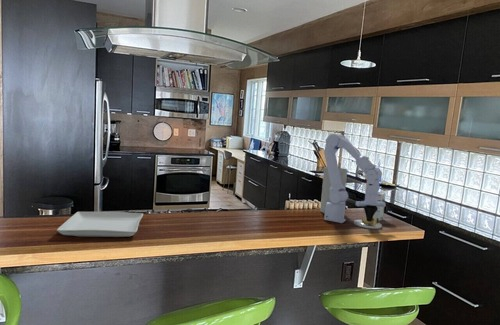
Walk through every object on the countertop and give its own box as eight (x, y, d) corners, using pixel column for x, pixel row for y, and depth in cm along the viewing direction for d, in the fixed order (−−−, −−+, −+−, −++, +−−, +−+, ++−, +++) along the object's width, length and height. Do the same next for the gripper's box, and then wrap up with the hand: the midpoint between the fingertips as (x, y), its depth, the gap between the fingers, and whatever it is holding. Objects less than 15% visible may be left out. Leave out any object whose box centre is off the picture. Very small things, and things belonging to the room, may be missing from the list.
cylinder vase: (339, 216, 188) (343, 170, 186) (316, 212, 194) (321, 167, 192) (345, 212, 199) (350, 169, 196) (324, 208, 205) (328, 166, 203)
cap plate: (351, 225, 171) (351, 218, 171) (357, 220, 182) (357, 213, 182) (379, 231, 165) (380, 223, 164) (383, 225, 176) (384, 218, 176)
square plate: (55, 240, 123) (55, 229, 123) (77, 219, 150) (77, 210, 149) (135, 240, 128) (136, 230, 128) (143, 220, 155) (143, 212, 155)
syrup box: (379, 221, 185) (382, 194, 183) (368, 218, 188) (371, 192, 187) (383, 219, 189) (386, 192, 188) (372, 217, 193) (374, 191, 192)
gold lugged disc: (359, 223, 170) (360, 215, 170) (362, 220, 177) (363, 212, 177) (375, 226, 167) (376, 218, 166) (378, 223, 174) (379, 215, 174)
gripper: (362, 194, 162) (359, 223, 163) (390, 195, 165) (387, 223, 166) (354, 191, 169) (351, 219, 170) (382, 192, 172) (379, 219, 173)
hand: (368, 221), depth 168 cm, fingers closed
